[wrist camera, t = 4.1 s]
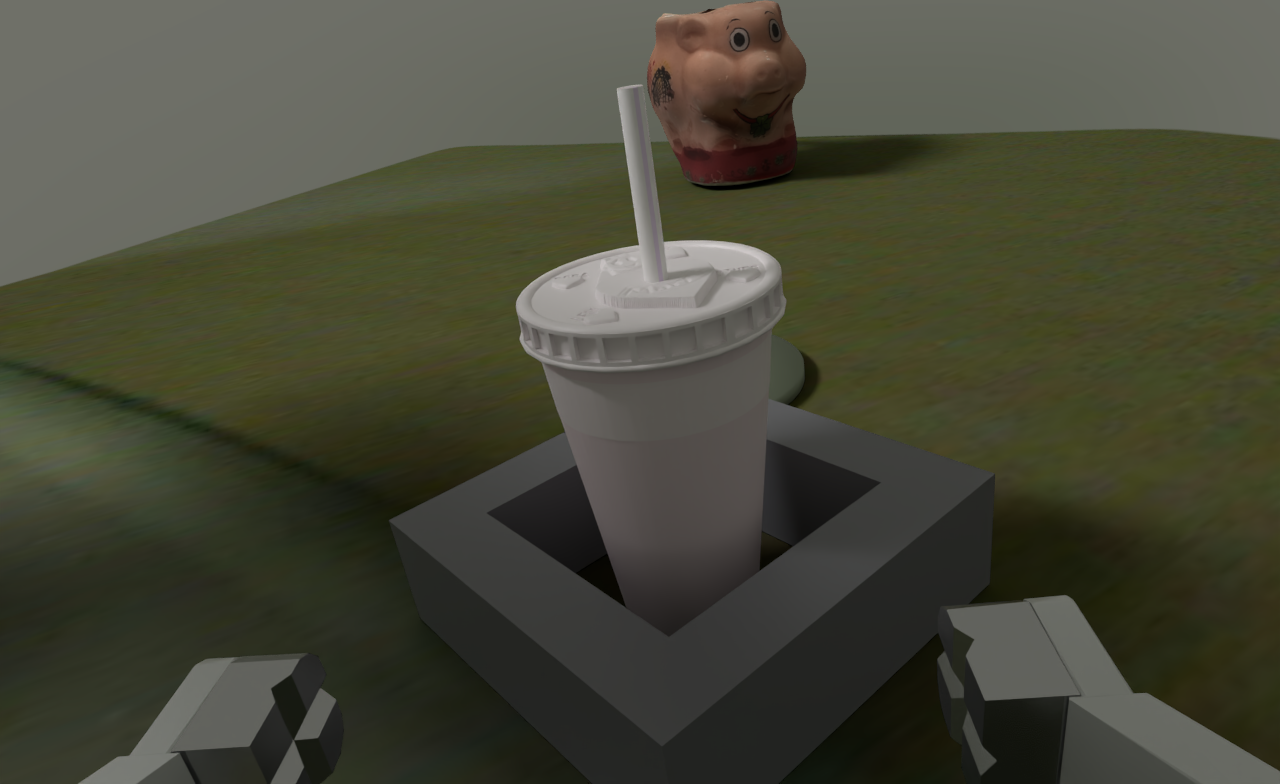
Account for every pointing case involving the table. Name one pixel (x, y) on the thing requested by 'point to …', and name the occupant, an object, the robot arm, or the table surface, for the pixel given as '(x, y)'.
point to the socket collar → (724, 633)
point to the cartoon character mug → (727, 92)
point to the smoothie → (663, 396)
